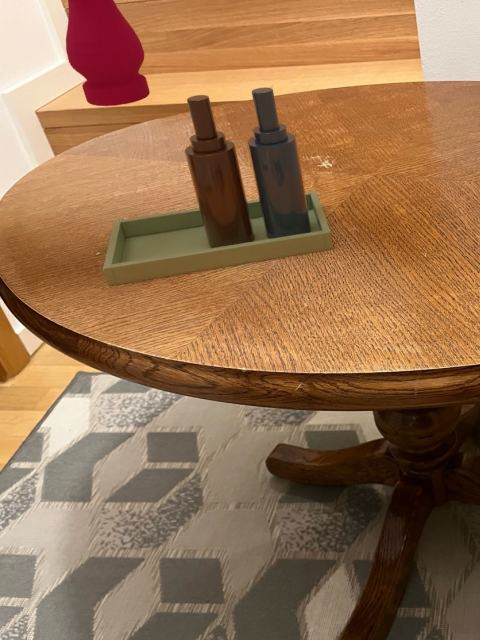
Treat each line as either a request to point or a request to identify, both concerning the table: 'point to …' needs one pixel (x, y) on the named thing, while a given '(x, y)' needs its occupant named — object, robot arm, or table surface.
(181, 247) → the tray
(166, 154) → the table surface
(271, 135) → the blue bottle
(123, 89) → the pepper mill
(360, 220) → the table surface
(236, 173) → the brown bottle
